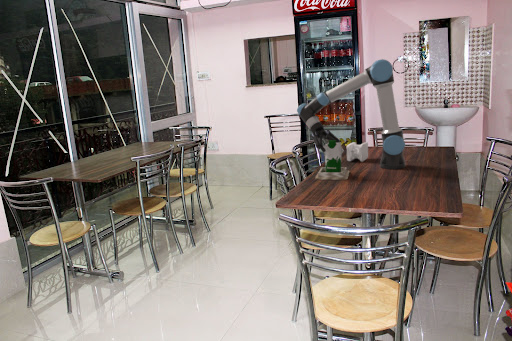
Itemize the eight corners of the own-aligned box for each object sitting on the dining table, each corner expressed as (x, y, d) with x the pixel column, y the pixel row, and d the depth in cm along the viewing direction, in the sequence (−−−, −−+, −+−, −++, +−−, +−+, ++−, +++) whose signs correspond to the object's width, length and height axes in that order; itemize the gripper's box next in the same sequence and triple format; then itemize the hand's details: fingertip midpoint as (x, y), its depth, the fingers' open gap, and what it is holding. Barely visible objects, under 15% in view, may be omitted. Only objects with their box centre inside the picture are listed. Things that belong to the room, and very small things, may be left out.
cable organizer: (361, 163, 282) (361, 145, 279) (346, 162, 287) (345, 144, 285) (368, 158, 294) (368, 141, 292) (353, 157, 300) (353, 141, 297)
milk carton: (324, 175, 250) (323, 141, 245) (328, 171, 258) (327, 138, 253) (339, 176, 247) (339, 141, 242) (342, 172, 255) (342, 138, 250)
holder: (349, 172, 258) (349, 166, 257) (347, 179, 241) (347, 173, 240) (319, 172, 263) (319, 166, 262) (315, 179, 246) (314, 173, 245)
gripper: (325, 127, 265) (345, 154, 257) (297, 132, 251) (318, 161, 242) (331, 119, 260) (352, 146, 252) (304, 123, 246) (325, 153, 237)
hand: (335, 154), depth 247 cm, fingers open, 11 cm apart
